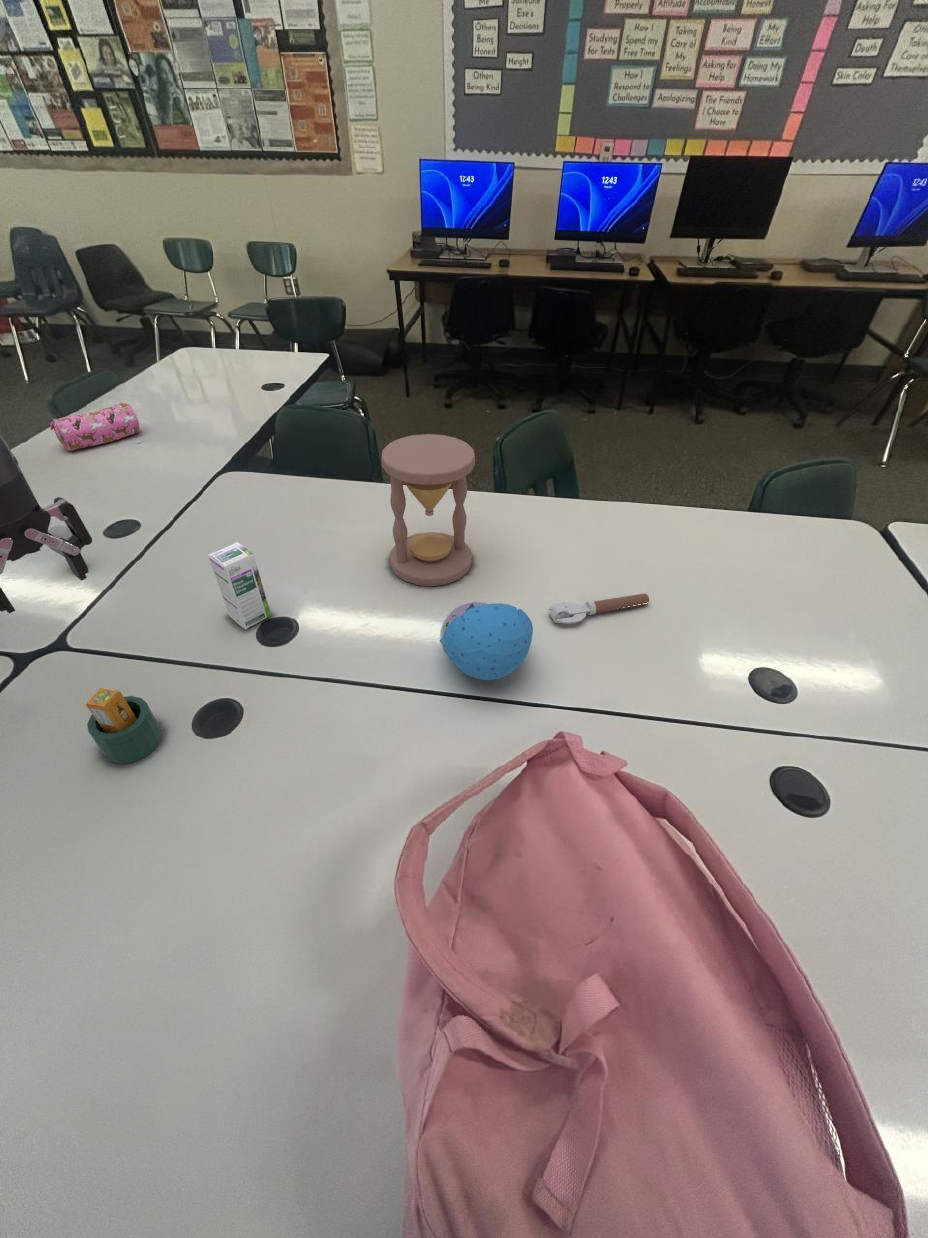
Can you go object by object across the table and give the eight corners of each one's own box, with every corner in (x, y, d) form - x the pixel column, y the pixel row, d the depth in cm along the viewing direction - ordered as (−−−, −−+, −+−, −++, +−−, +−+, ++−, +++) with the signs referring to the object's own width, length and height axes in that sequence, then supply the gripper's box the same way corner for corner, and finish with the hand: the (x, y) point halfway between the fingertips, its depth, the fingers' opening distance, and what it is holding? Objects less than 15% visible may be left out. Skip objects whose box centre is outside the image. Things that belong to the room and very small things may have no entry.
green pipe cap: (122, 773, 81) (105, 748, 77) (94, 746, 84) (76, 720, 80) (171, 738, 85) (158, 712, 81) (143, 713, 89) (129, 688, 85)
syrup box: (245, 631, 104) (224, 566, 94) (228, 616, 107) (206, 553, 97) (271, 616, 107) (254, 553, 98) (254, 602, 110) (236, 540, 101)
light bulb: (57, 570, 117) (34, 529, 110) (83, 558, 120) (62, 517, 114) (71, 579, 115) (48, 537, 108) (97, 566, 118) (77, 525, 112)
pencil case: (133, 426, 174) (122, 397, 168) (146, 435, 169) (135, 405, 163) (57, 447, 162) (43, 416, 156) (69, 457, 157) (55, 426, 151)
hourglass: (395, 591, 114) (385, 477, 97) (386, 544, 126) (376, 436, 110) (479, 581, 116) (484, 469, 100) (462, 536, 129) (464, 430, 113)
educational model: (512, 621, 107) (518, 556, 97) (539, 695, 93) (549, 628, 83) (431, 630, 105) (429, 564, 95) (445, 707, 91) (445, 639, 81)
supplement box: (127, 730, 86) (100, 685, 79) (147, 734, 85) (122, 689, 79) (112, 747, 83) (83, 703, 77) (132, 752, 83) (105, 707, 76)
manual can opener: (633, 590, 115) (636, 578, 113) (650, 607, 111) (654, 595, 109) (544, 612, 109) (545, 600, 107) (559, 632, 105) (561, 620, 103)
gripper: (33, 443, 66) (88, 557, 77) (-117, 487, 58) (-31, 609, 68) (63, 462, 63) (117, 578, 74) (-90, 511, 54) (-4, 635, 65)
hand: (46, 593), depth 71 cm, fingers open, 8 cm apart
